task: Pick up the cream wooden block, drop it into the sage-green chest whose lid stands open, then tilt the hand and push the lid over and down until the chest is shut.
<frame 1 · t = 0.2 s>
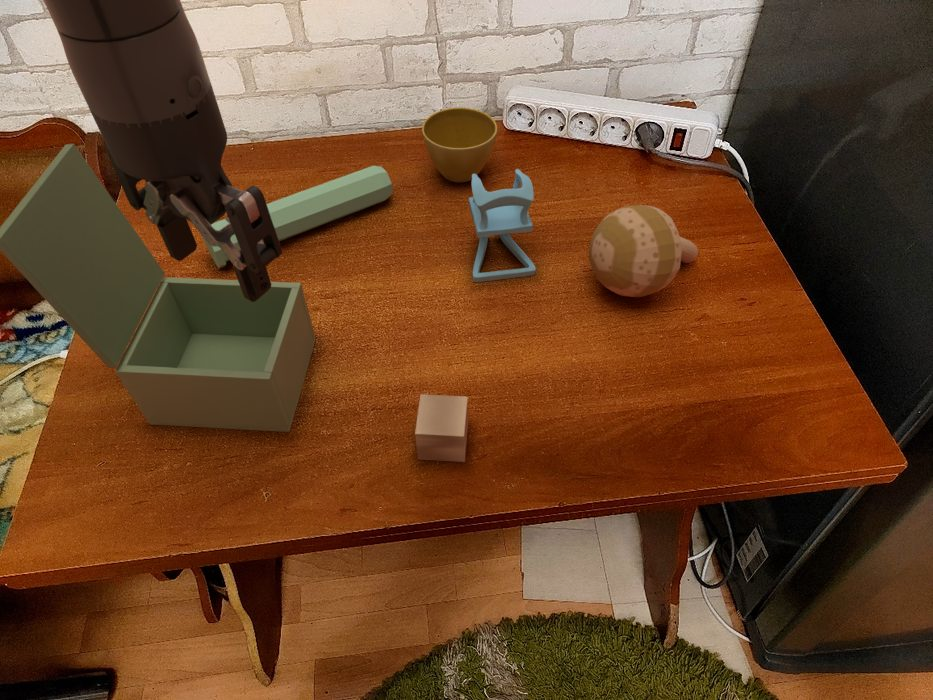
hand: (221, 273, 56), 20 cm above the table, tool pointing down, fingers open, 8 cm apart
chest: (236, 379, 74), on the table
chair: (498, 257, 86), on the table
block: (443, 441, 68), on the table
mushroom: (643, 282, 83), on the table
flower pot: (460, 173, 97), on the table
lid: (91, 259, 61), point 17 cm above the table, hinge at 100.0°
green rod: (307, 228, 90), on the table
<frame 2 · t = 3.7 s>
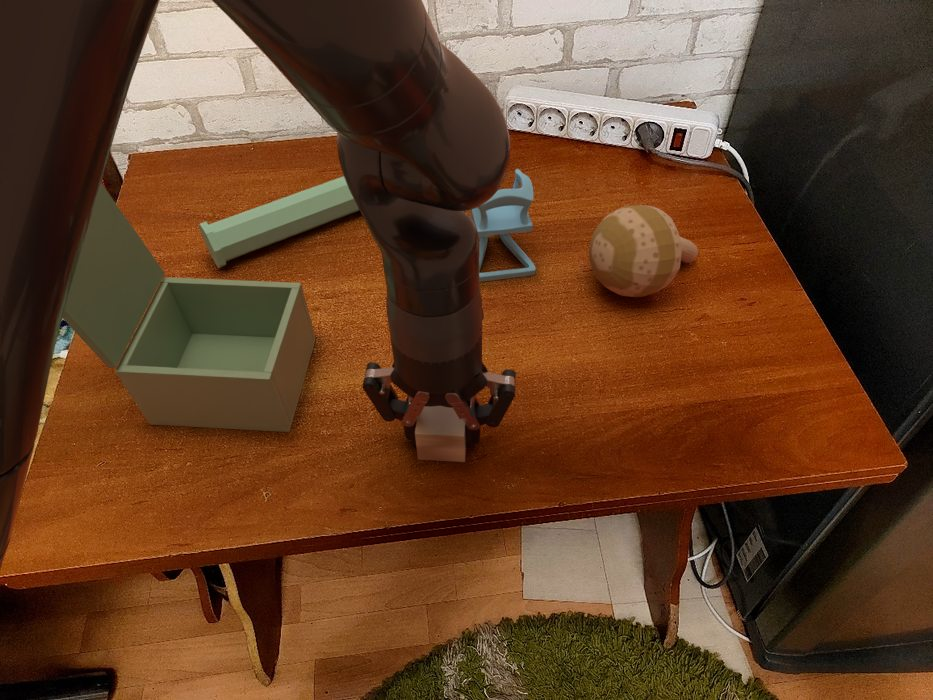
hand: (443, 439, 68), 0 cm above the table, tool pointing down, fingers closed on block, 4 cm apart
block: (443, 441, 68), on the table, touching gripper
everything else where it was.
when the fingers open (7 cm above the table, at t = 10.4 s): block drops 6 cm, resting on chest.
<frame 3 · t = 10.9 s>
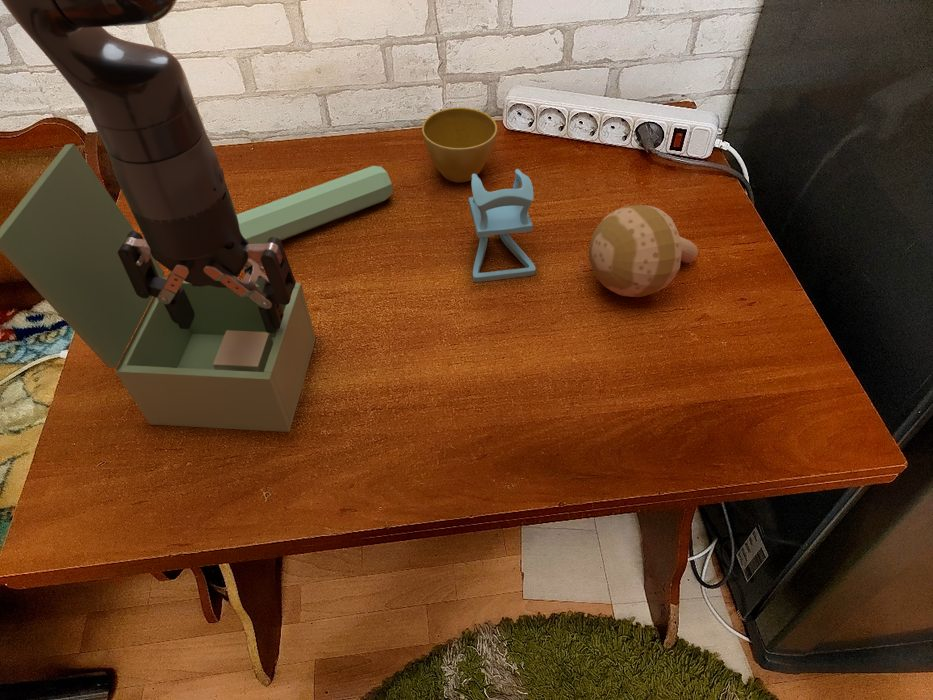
hand: (231, 324, 67), 9 cm above the table, tool pointing down, fingers open, 8 cm apart
block: (252, 375, 73), point 1 cm above the table, touching chest
everything else where it was.
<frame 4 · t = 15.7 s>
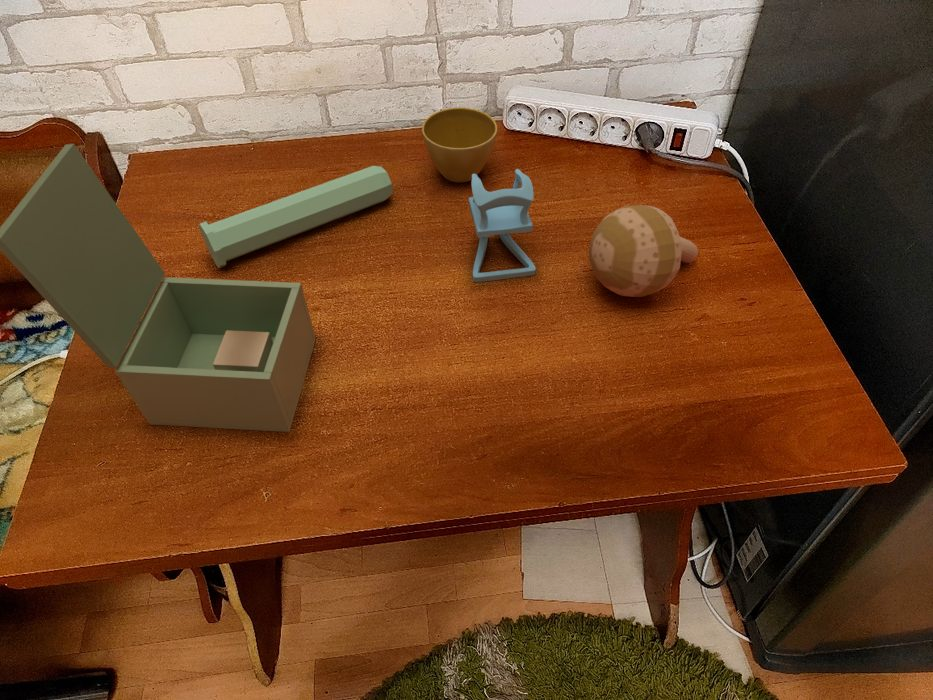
nothing on the table moved.
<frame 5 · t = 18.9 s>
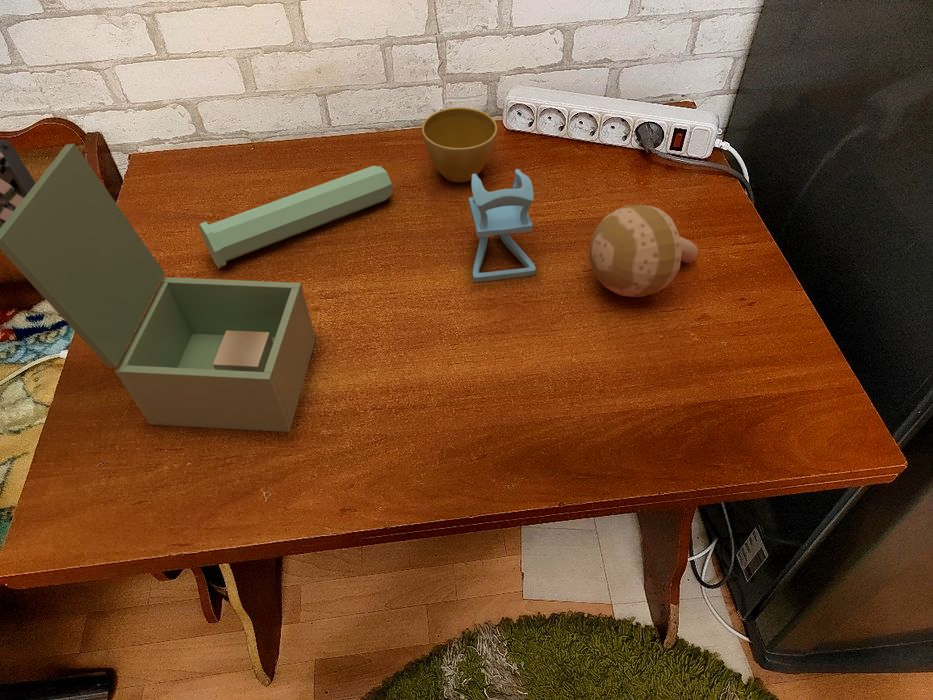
hand: (73, 252, 60), 18 cm above the table, tool tilted 45°, fingers closed
lid: (91, 259, 61), point 17 cm above the table, hinge at 99.7°, touching gripper
everything else where it was.
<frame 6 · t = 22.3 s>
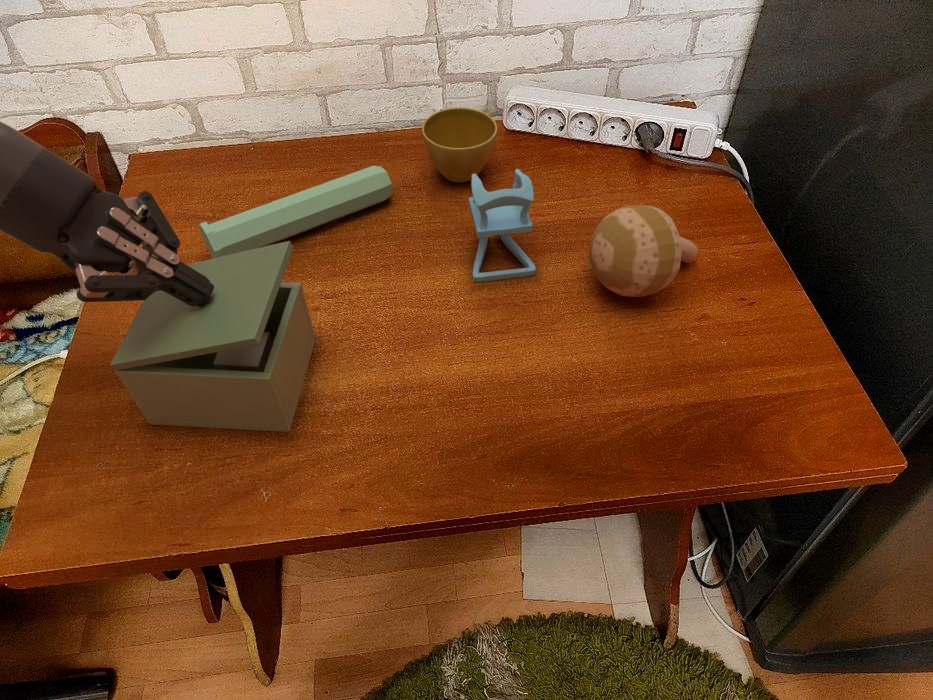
hand: (208, 296, 64), 13 cm above the table, tool tilted 45°, fingers closed
lid: (204, 304, 65), point 12 cm above the table, hinge at 17.9°, touching gripper
everything else where it was.
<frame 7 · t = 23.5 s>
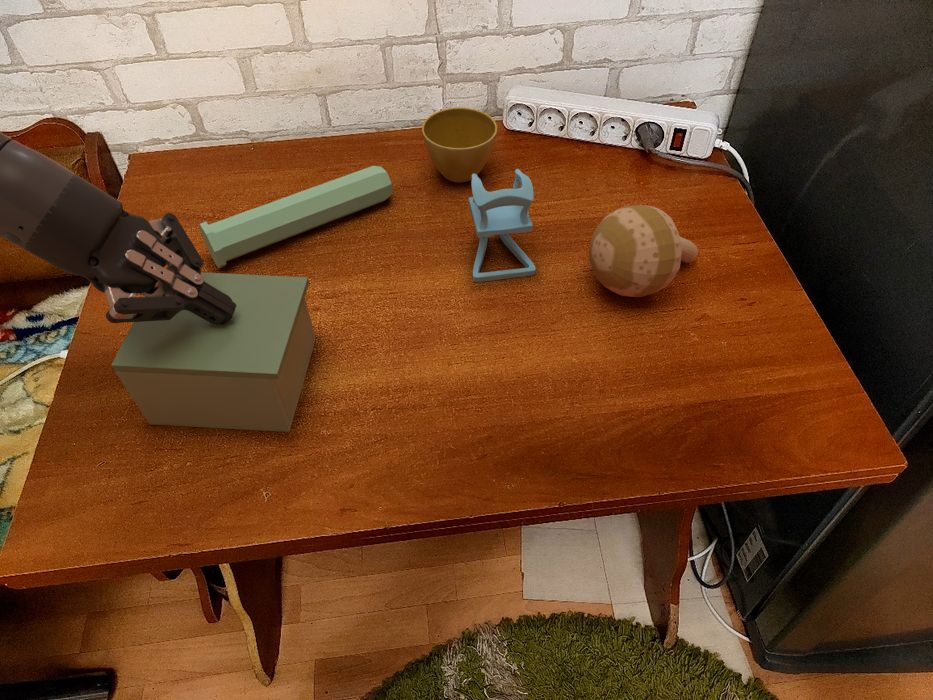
hand: (230, 315, 66), 10 cm above the table, tool tilted 45°, fingers closed
lid: (215, 321, 66), point 9 cm above the table, hinge at -0.2°, touching chest, gripper
everything else where it was.
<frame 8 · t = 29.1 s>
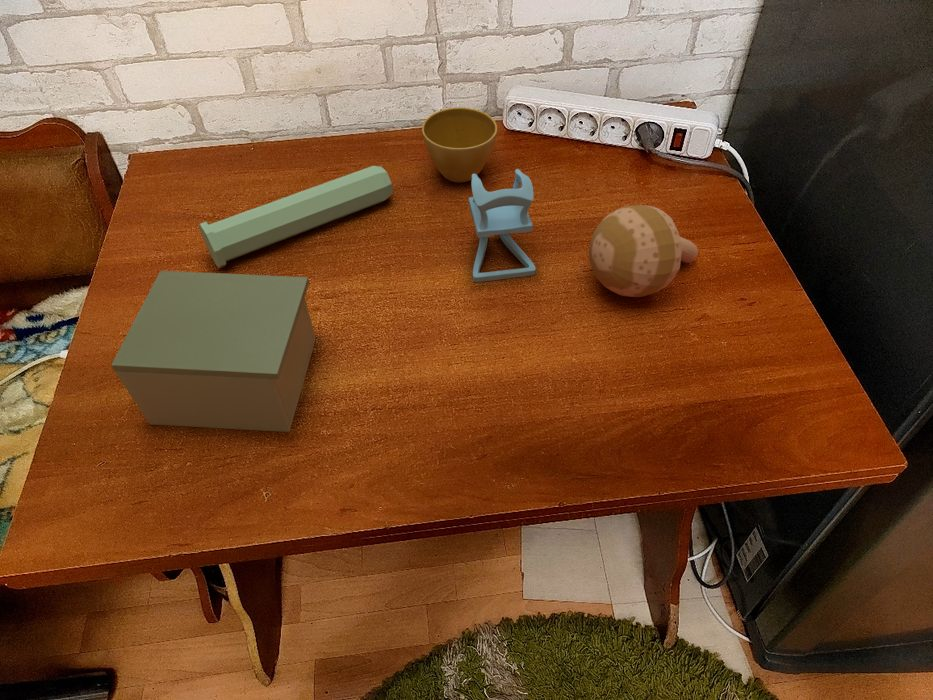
lid: (215, 321, 66), point 9 cm above the table, hinge at -0.2°, touching chest
everything else where it was.
at the end: lid at +0° (first picture: +100°); block inside the target area in the chest (2.0 cm from its centre), point 0.8 cm above the chest's base; flower pot moved 0.2 cm from its start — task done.
